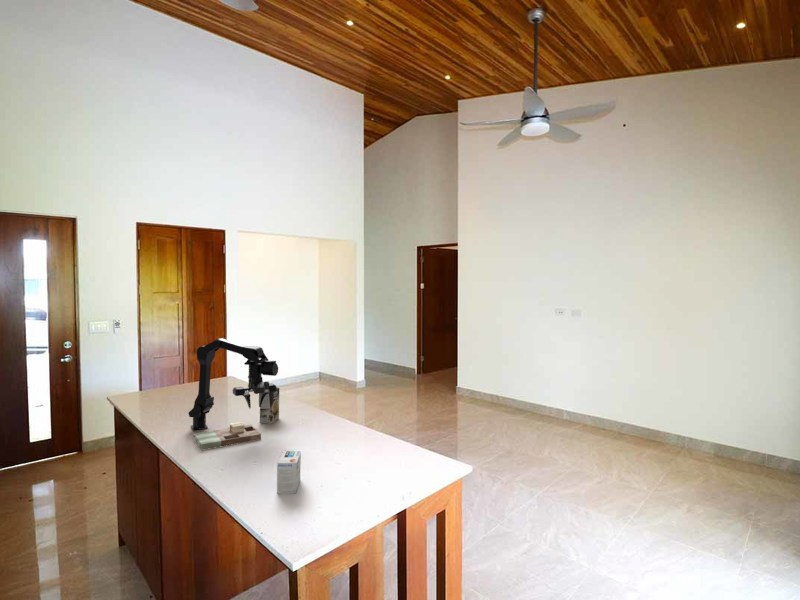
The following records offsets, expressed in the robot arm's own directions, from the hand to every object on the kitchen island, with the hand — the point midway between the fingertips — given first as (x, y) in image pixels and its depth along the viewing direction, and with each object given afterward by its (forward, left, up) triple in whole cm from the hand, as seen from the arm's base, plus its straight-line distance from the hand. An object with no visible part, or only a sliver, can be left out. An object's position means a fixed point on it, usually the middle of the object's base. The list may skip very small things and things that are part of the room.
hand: (254, 407), depth 208 cm
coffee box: (-15, +12, -12) cm, 22 cm away
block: (0, -8, -10) cm, 12 cm away
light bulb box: (+59, -6, -12) cm, 61 cm away
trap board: (+2, -13, -12) cm, 17 cm away
